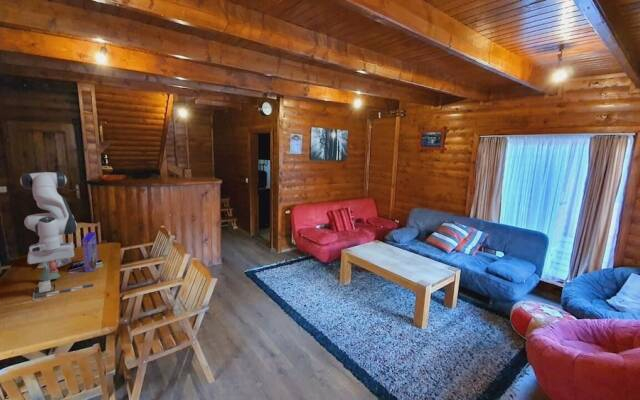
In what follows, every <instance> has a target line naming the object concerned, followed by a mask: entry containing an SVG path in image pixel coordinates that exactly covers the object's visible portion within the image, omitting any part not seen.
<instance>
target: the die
mask: <svg viewBox="0 0 640 400" xmlns="http://www.w3.org/2000/svg"><path fill="white" fill-rule="evenodd" d="M51 284H52V283H51V280H48V281H46V280H42V281H39V282H38V284H37V285H38V286H37V287H39V293H40V292H45V291H50V290H52V286H51Z"/></svg>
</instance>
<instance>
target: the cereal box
mask: <svg viewBox="0 0 640 400" xmlns="http://www.w3.org/2000/svg"><path fill="white" fill-rule="evenodd" d="M81 242H82V251H83V262H84V270H85V271H84V273H91V272H95V270H96V267H97V266H96V263H97V261H98V262H99V258H98V245H97V234H96V231H93V232H92V231H91V232H87V233H86V234H85V236H84V237H83V238H82V239H81Z"/></svg>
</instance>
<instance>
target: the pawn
mask: <svg viewBox="0 0 640 400" xmlns="http://www.w3.org/2000/svg"><path fill="white" fill-rule="evenodd" d="M48 262H49V267H50V271H49V273H56V272H58V273H59V269H58V267H56V260H52V261H48Z"/></svg>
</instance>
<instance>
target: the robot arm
mask: <svg viewBox="0 0 640 400" xmlns="http://www.w3.org/2000/svg"><path fill="white" fill-rule="evenodd" d="M19 179H20V180H19V182H20V185H21V187H22V188H24V189H25V190H32V196H33V199H34V200H35V201H36V205H37V207H38V208H39V209H41V210H44V211H45V210H46V211H48V212H44V213H35V214H30V215H27V216H26V217H25V218H24V222H23V223H24V226H25V227H26V229H28V230H30V231H33V232H35V235H36V236H37V237H39V240H38V242H37V243H35V244H32V245H30V246H29V247H28V250H29V251H28V254H27V259H26V260H27V261H26V262H27V264H28V265H32V264H33V265H34V264H40V263H41V262H43V264H42V265H40V266H37V265H36V266H37V267H36V268H37V269H44V267H45V266H46V269H47V268H50V267H49V265H47V264H46V262H47V261H52V260H56V261H57V262H58V263H56V267H57V268H61V267H64V266H66V265H69V264H70V263H73V258H74V257H75V251H74V249H75V244H74V243H73V242H64V240H63V239H64V237H63V235H72V234H74V233H75V232H76V231H77V230H78V223H77V221H76V220H75V217H74V215H73V213H72V210H71V209H70V206H69V204H68V202H67V199H66V198H65V197H64V196H63V195H61V194H59V192H58V190H57V189H60V188H64V187H65V186H66V184H67V182H68V179H67V177H66V175H65V174H64V173H62V172H58V171H56V172H52V171H51V172H50V171H43V172H32V173H30V172H28V173H27V172H26V173H23V174H22V175H21V176H20V178H19ZM60 263H62V264H63V265H62V264H60Z"/></svg>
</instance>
